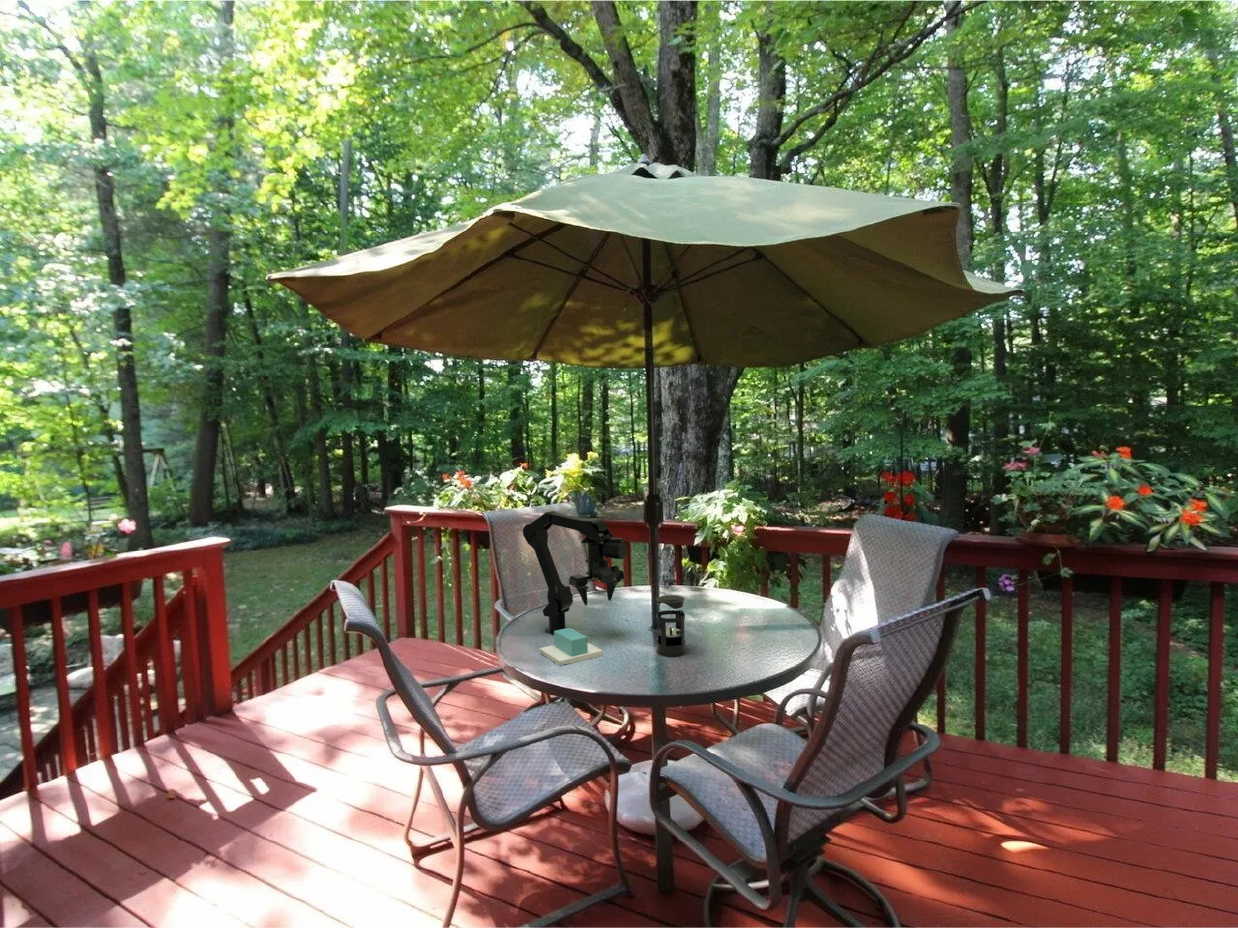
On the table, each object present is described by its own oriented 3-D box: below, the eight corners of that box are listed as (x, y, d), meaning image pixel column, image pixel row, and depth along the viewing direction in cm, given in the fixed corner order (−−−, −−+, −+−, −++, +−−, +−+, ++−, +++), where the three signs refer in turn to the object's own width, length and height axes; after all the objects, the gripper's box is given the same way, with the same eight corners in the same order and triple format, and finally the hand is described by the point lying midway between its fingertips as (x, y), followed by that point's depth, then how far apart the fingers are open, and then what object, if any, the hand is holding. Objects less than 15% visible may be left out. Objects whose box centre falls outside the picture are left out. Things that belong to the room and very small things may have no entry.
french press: (675, 659, 201) (673, 585, 199) (649, 653, 207) (647, 581, 205) (694, 648, 210) (693, 576, 209) (669, 643, 216) (668, 573, 214)
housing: (571, 656, 202) (571, 640, 201) (554, 646, 212) (553, 630, 211) (587, 652, 205) (587, 636, 204) (570, 642, 215) (569, 627, 214)
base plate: (539, 652, 210) (539, 648, 210) (580, 643, 218) (580, 638, 218) (559, 666, 198) (559, 661, 198) (602, 655, 206) (602, 650, 206)
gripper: (583, 564, 209) (585, 613, 210) (633, 556, 219) (634, 603, 220) (567, 559, 219) (568, 605, 220) (615, 551, 229) (616, 596, 230)
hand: (597, 602), depth 222 cm, fingers open, 9 cm apart
